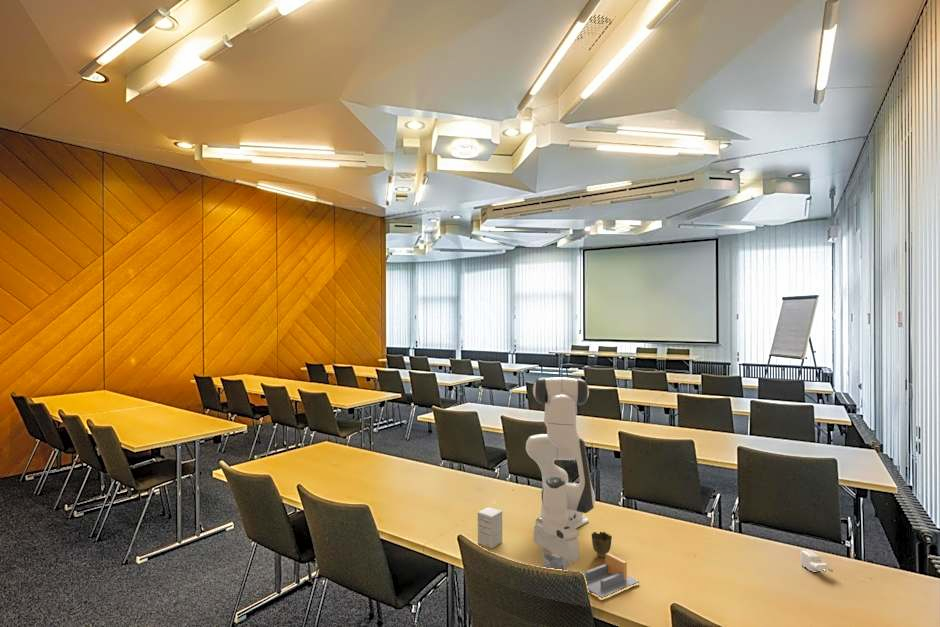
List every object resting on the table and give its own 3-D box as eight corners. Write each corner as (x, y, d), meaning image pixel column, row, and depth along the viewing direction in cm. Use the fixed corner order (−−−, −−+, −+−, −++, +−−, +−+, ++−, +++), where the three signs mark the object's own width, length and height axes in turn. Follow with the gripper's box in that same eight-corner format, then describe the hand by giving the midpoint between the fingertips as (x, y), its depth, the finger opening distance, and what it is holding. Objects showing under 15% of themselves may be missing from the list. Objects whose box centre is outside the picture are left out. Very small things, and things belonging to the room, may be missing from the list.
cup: (608, 551, 194) (608, 530, 194) (614, 561, 187) (614, 539, 187) (589, 551, 194) (589, 531, 194) (594, 561, 187) (594, 539, 187)
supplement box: (488, 537, 207) (488, 506, 207) (502, 542, 202) (503, 510, 202) (476, 543, 201) (477, 511, 201) (491, 549, 196) (491, 516, 196)
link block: (559, 565, 184) (559, 551, 184) (566, 569, 181) (566, 555, 181) (542, 571, 179) (542, 557, 179) (549, 575, 176) (549, 561, 177)
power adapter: (835, 581, 173) (835, 563, 173) (822, 581, 173) (822, 564, 173) (810, 565, 184) (810, 549, 185) (798, 565, 184) (798, 549, 184)
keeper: (606, 567, 182) (606, 547, 182) (638, 585, 170) (638, 563, 170) (570, 581, 172) (570, 560, 172) (601, 601, 160) (601, 578, 160)
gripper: (529, 517, 187) (529, 555, 187) (568, 537, 170) (568, 578, 170) (542, 514, 191) (542, 550, 190) (582, 533, 173) (582, 573, 173)
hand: (555, 564), depth 180 cm, fingers open, 8 cm apart
